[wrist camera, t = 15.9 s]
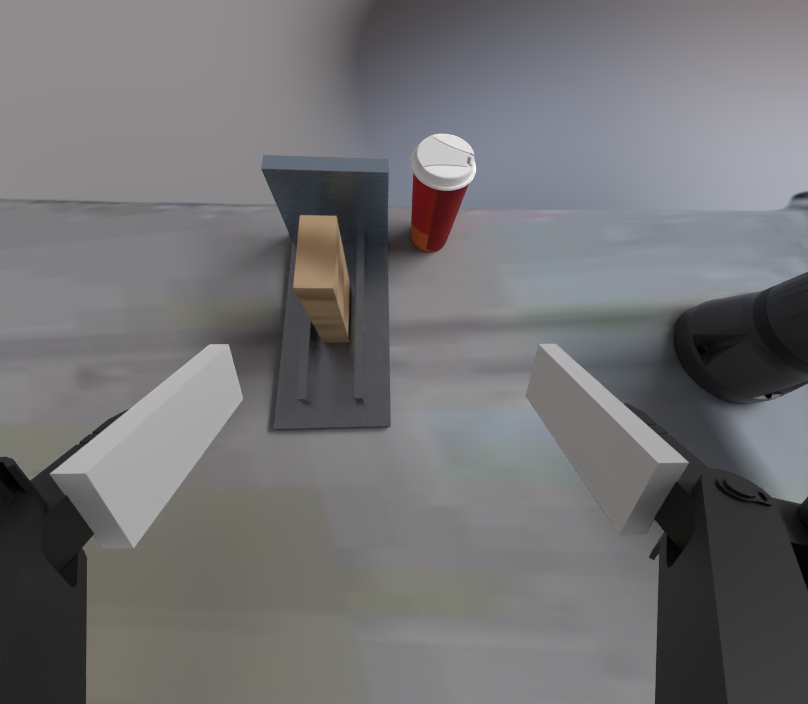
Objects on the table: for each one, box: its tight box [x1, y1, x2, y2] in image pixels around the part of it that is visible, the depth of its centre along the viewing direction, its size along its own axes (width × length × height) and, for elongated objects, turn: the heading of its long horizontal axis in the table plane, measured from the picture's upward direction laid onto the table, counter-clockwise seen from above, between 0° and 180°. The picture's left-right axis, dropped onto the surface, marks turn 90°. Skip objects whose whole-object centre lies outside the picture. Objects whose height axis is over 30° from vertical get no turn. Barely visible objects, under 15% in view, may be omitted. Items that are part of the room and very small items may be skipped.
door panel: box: [293, 215, 351, 343], centre depth 35 cm, size 8×4×14 cm, turn 2°
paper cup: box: [410, 134, 476, 252], centre depth 41 cm, size 8×8×14 cm
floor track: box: [261, 155, 390, 430], centre depth 36 cm, size 30×14×13 cm, turn 2°
